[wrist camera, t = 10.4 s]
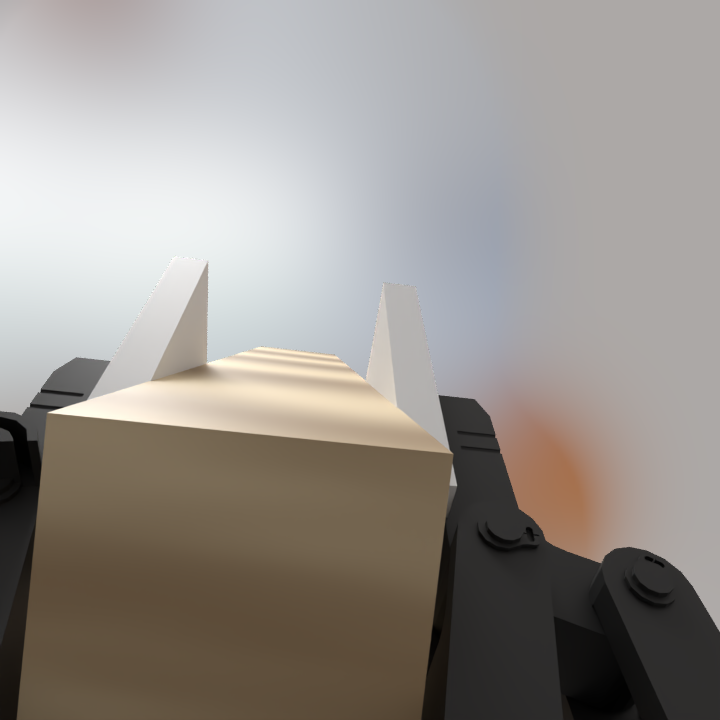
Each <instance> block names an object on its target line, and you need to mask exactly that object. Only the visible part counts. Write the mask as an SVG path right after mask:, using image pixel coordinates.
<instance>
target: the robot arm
mask: <svg viewBox="0 0 720 720" xmlns="http://www.w3.org/2000/svg"><path fill="white" fill-rule="evenodd" d="M207 302H208V261H207V260H200V259H191V258H184V257H176V256H174V257H173V259H172V261H171V262H170V264H169V265H168V267H167V269H166V270H165V272H164V274H163V275H162V277H161V279H160V280H159V282H158V284H157V285H156V287H155V289H154V290H153V292H152V294H151V295H150V297H149V299H148V300H147V302H146V304H145V305H144V307H143V309H142V310H141V312H140V314H139V315H138V317H137V319H136V320H135V322H134V323H133V325H132V327H131V328H130V330H129V332H128V333H127V335H126V337H125V338H124V340H123V342H122V343H121V345H120V347H119V348H118V350H117V352H116V353H115V355H114V356H113V358H112V360H111V361H104V360H94V359H86V358H75V359H73V360H71V361H70V362H68V363H66V364H65V365H63V366H62V367H60V368H58V369H57V370H55V371H54V372H53V373H52V374H51V376H50V377H49V379H48V380H47V381H46V383H45V384H44V385H43V387H42V388H41V392H40V393H38V394H37V395H36V396H35V398H34V399H33V401H32V402H31V403H30V408H29V407H27V409H26V410H25V412H24V413H23V414H22V416H21V415H18V414H16V413H11V412H1V411H0V720H17V711H18V701H19V691H20V681H21V671H22V661H23V650H24V640H25V630H26V620H27V610H28V600H29V590H30V580H31V570H32V560H33V550H34V540H35V530H36V520H37V510H38V499H39V489H40V479H41V469H42V459H43V449H44V439H45V429H46V419H47V413H48V412H51V411H54V410H58V409H61V408H64V407H67V406H71V405H74V404H77V403H80V402H84V401H87V400H90V399H93V398H96V397H100V396H103V395H106V394H109V393H113V392H116V391H119V390H122V389H126V388H129V387H132V386H135V385H139V384H142V383H145V382H148V381H153V380H156V379H159V378H163V377H166V376H169V375H172V374H175V373H179V372H182V371H185V370H188V369H191V368H195V367H198V366H201V365H204V364H206V362H207V305H208V304H207ZM366 382H367V383H368V384H369V385H371V386H372V387H373V388H374V389H375V390H377V391H378V392H379V393H380V394H381V395H383V396H384V397H385V398H386V399H387V400H388V401H390V402H391V403H392V404H393V405H394V406H396V407H397V408H399V409H400V410H401V411H403V412H404V413H405V414H406V415H407V416H409V417H410V418H411V419H412V420H413V421H415V422H416V423H417V424H418V425H419V426H421V427H422V428H423V429H424V430H425V431H427V432H428V433H429V434H430V435H431V436H433V437H434V438H435V439H436V440H437V441H439V442H440V443H441V444H442V445H443V446H445V447H446V448H447V449H448V450H449V451H451V452H452V453H453V462H452V470H451V478H450V486H449V495H448V503H447V511H446V519H445V527H444V535H443V544H442V552H441V560H440V568H439V576H438V584H437V593H436V601H435V609H434V617H433V625H432V633H431V642H430V650H429V658H428V666H427V674H426V682H425V691H424V699H423V707H422V715H421V720H720V632H719V630H718V629H717V627H716V625H715V623H714V622H713V620H712V618H711V617H710V615H709V613H708V612H707V610H706V608H705V607H704V605H703V603H702V601H701V600H700V598H699V596H698V595H697V593H696V591H695V590H694V588H693V586H692V585H691V584H690V583H689V581H688V580H687V579H686V578H685V576H684V575H683V574H682V573H681V571H679V570H678V569H677V568H675V567H674V566H673V565H671V564H670V563H669V562H668V561H666V560H665V559H663V558H661V557H659V556H657V555H654V554H653V553H651V552H649V551H646V550H641V549H637V548H632V547H627V548H617V549H614V550H613V551H611V552H610V553H609V554H607V555H606V556H605V557H604V559H603V561H602V563H598V562H595V561H592V560H590V559H587V558H584V557H581V556H578V555H575V554H573V553H570V552H567V551H565V550H562V549H560V548H558V547H555V546H553V545H552V544H550V543H549V542H547V541H546V540H545V537H544V534H543V531H542V530H541V529H540V528H539V526H538V525H537V524H536V523H535V521H534V520H533V519H532V518H531V517H529V516H528V515H527V514H525V513H524V512H522V511H521V510H519V508H518V505H517V502H516V499H515V495H514V492H513V489H512V486H511V483H510V480H509V476H508V473H507V470H506V466H505V463H504V460H503V457H502V454H500V448H499V444H498V441H497V439H496V438H495V431H494V428H493V425H492V422H491V419H490V416H489V415H488V414H487V413H486V412H485V410H483V408H482V407H481V406H480V405H479V404H478V403H477V401H475V400H474V399H468V398H459V397H449V396H440V395H438V392H437V387H436V382H435V377H434V373H433V368H432V363H431V358H430V353H429V349H428V344H427V339H426V334H425V330H424V324H423V320H422V315H421V310H420V305H419V301H418V296H417V291H416V287H415V286H408V285H400V284H391V283H383V288H382V293H381V299H380V305H379V310H378V316H377V321H376V327H375V332H374V338H373V344H372V349H371V355H370V361H369V366H368V371H367V377H366Z"/></svg>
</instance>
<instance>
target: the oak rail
mask: <svg viewBox="0 0 720 720" xmlns="http://www.w3.org/2000/svg"><path fill="white" fill-rule="evenodd" d="M452 462H453V453H452V452H451V451H449V450H448V449H447V448H446V447H445V446H443V445H442V444H441V443H440V442H439V441H437V440H436V439H435V438H434V437H433V436H431V435H430V434H429V433H428V432H427V431H425V430H424V429H423V428H422V427H421V426H419V425H418V424H417V423H416V422H415V421H413V420H412V419H411V418H410V417H409V416H407V415H406V414H405V413H404V412H403V411H401V410H400V409H399V408H397V407H396V406H394V405H393V404H392V403H391V402H390V401H388V400H387V399H386V398H385V397H384V396H383V395H381V394H380V393H379V392H378V391H377V390H375V389H374V388H373V387H372V386H371V385H369V384H368V383H367V382H366V381H365V380H364V379H363V378H362V377H360V376H359V375H358V374H357V373H355V372H354V371H353V370H352V369H351V368H349V367H348V366H347V365H346V364H345V363H343V362H342V361H341V360H340V359H339V358H338V357H336V356H335V355H332V354H323V353H314V352H305V351H297V350H287V349H279V348H270V347H258V348H255V349H252V350H249V351H245V352H243V353H239V354H236V355H233V356H229V357H226V358H223V359H219V360H217V361H213V362H210V363H206V364H204V365H201V366H198V367H195V368H191V369H188V370H185V371H182V372H179V373H175V374H172V375H169V376H166V377H163V378H159V379H156V380H153V381H148V382H145V383H142V384H139V385H135V386H132V387H129V388H126V389H122V390H119V391H116V392H113V393H109V394H106V395H103V396H100V397H96V398H93V399H90V400H87V401H84V402H80V403H77V404H74V405H71V406H67V407H64V408H61V409H58V410H54V411H51V412H48V413H47V419H46V429H45V439H44V449H43V459H42V469H41V479H40V489H39V499H38V510H37V520H36V530H35V540H34V550H33V560H32V570H31V580H30V590H29V600H28V610H27V620H26V630H25V640H24V650H23V661H22V671H21V681H20V691H19V701H18V711H17V720H421V715H422V707H423V699H424V691H425V682H426V674H427V666H428V658H429V650H430V642H431V633H432V625H433V617H434V609H435V601H436V593H437V584H438V576H439V568H440V560H441V552H442V544H443V535H444V527H445V519H446V511H447V503H448V495H449V486H450V478H451V470H452Z"/></svg>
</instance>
